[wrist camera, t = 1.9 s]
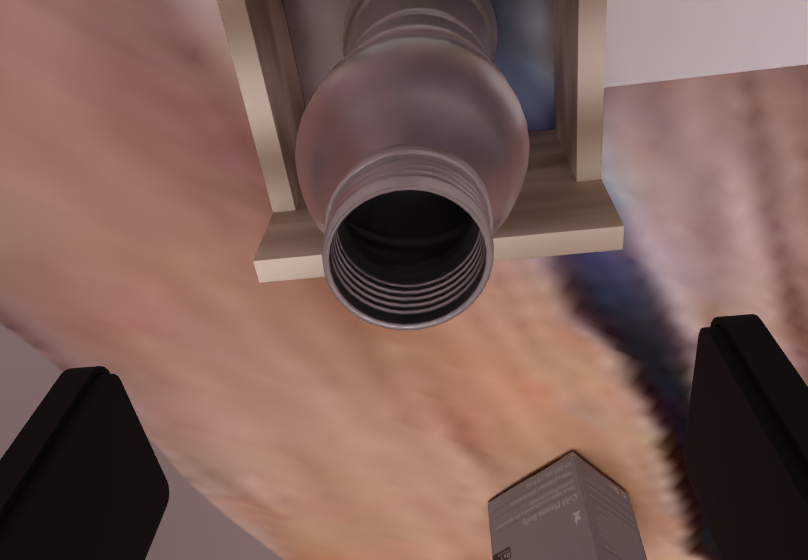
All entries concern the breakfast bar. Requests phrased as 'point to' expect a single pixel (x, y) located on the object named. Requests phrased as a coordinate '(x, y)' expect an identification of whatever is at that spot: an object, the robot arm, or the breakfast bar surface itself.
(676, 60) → the pad
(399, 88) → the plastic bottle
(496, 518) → the skincare box
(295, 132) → the frame
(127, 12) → the breakfast bar surface
